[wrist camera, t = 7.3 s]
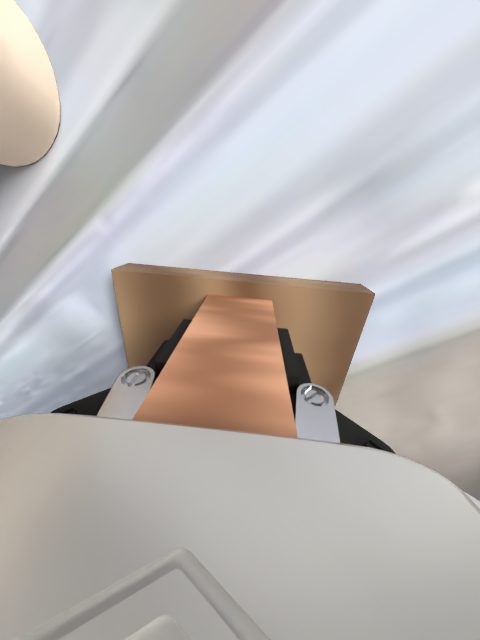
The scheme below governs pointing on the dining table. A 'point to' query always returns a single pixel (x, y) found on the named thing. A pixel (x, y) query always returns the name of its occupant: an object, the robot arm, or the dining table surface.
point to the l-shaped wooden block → (225, 372)
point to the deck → (286, 294)
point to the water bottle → (25, 91)
